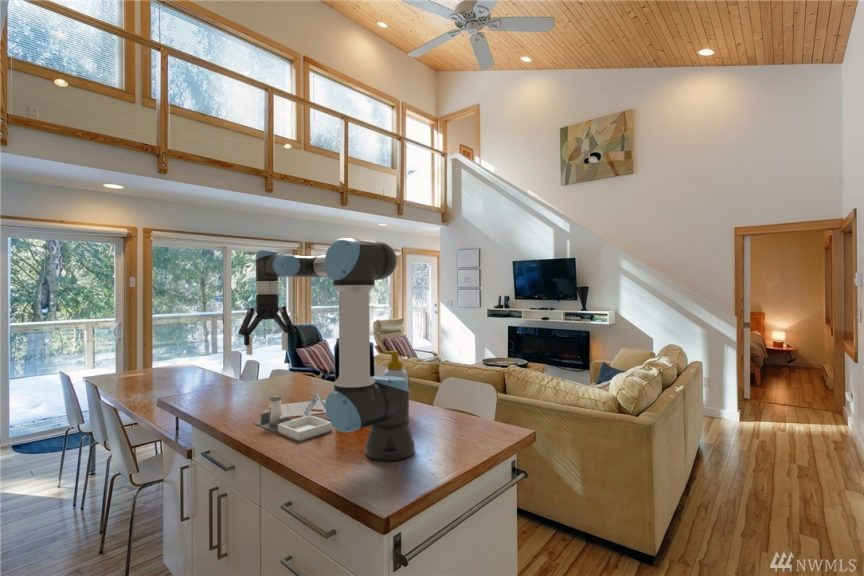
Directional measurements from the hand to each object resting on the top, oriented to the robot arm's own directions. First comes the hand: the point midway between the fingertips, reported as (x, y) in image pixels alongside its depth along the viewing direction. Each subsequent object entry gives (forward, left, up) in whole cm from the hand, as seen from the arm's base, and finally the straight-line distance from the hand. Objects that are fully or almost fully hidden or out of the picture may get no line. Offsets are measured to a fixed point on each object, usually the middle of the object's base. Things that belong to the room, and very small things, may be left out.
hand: (267, 352), depth 155 cm
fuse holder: (+1, -3, -27) cm, 27 cm away
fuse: (+1, -3, -27) cm, 27 cm away
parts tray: (-14, -6, -27) cm, 31 cm away
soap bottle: (-24, -40, -28) cm, 54 cm away
